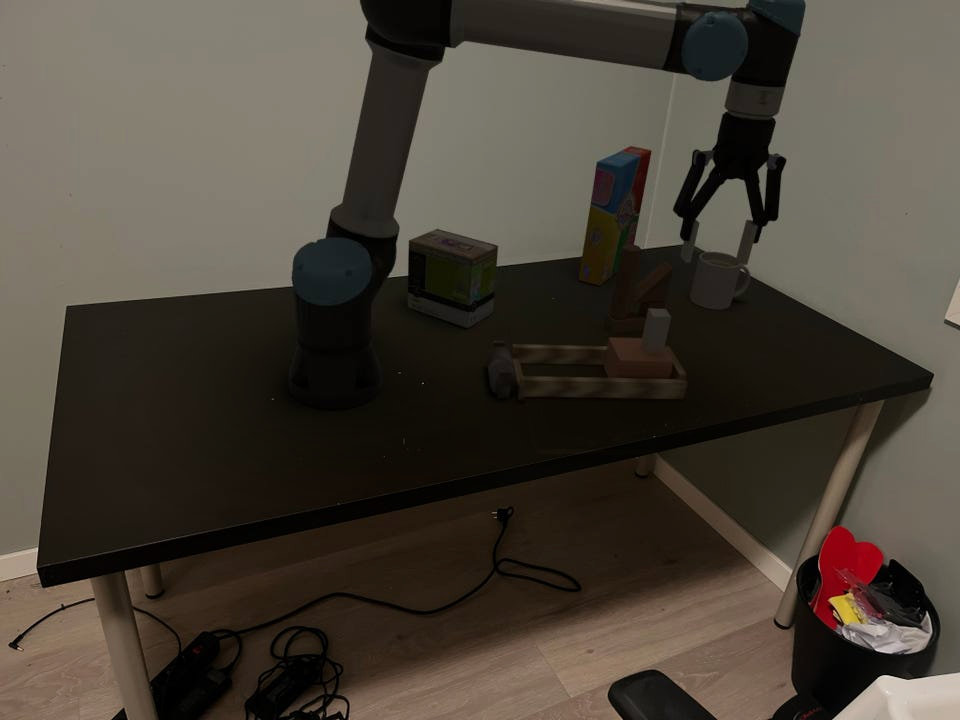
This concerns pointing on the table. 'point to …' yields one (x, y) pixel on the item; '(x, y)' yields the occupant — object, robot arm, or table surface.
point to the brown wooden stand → (636, 292)
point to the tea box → (452, 277)
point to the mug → (717, 280)
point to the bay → (510, 377)
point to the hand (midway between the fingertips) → (713, 260)
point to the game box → (613, 212)
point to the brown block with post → (641, 351)
